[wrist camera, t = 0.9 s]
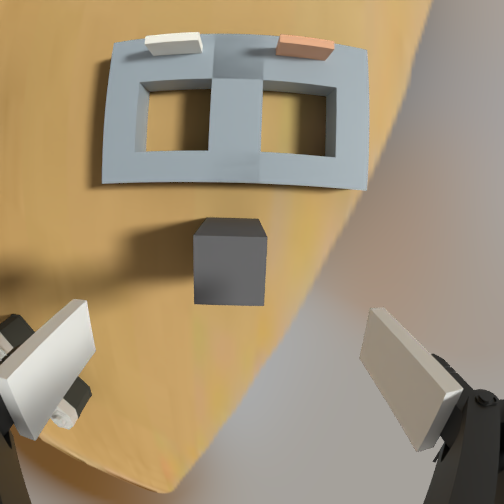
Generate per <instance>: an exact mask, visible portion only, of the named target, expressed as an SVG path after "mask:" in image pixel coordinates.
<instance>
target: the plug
mask: <svg viewBox="0 0 504 504" xmlns="http://www.w3.org/2000/svg"><path fill="white" fill-rule="evenodd" d="M266 256H267V236H266V233H265V231H264V229H263V227H262V225H261V223H260V221H259V219H247V218H206V220H205V221H204V222H203V223H202V225H201V226H200V227H199V229H198V230H197V231H196V233H195V234H194V235H193V260H194V304H206V305H241V306H264V294H265V275H266Z"/></svg>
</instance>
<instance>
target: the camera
mask: <svg viewBox="0 0 504 504" xmlns="http://www.w3.org/2000/svg"><path fill="white" fill-rule="evenodd" d="M34 333H35V332H34V331H33V329H32V328H31V327H30V326H29V325H28V324H27V323H26V321H25V320H24V319H23V318H22V317H21V316H20V315H16V314H12V315H11V316H10V317H9V318H8V319H6V320H5V321H4V322H2V323H1V324H0V361H1V359H2V358H3V357H4V356H5V355H6V356H7V353H8V352H10V351H11V350H12V349H13V348H14V347H16V346H18V345H20V344H22V343H24V342H25V341H26V340H27V339H28V338H30V337H31V336H32V335H33V334H34ZM91 396H92V394H91V390H90V387H89V386H88V385H87V384H86V383H85V382H84V381H83V380H82V379H81V378H79V377H77V378H76V380H75V381H74V382H73V384H72V385H71V387H70V388H69V390H68V391H67V393H66V394H65V396H64V397H63V399H62V400H61V402H60V403H59V405H58V406H57V408H56V409H55V411H54V412H53V414H52V415H51V417H50V418H51V419H52V420H53V422H54V423H55V424H57V425H58V427H63V428H66V429H70V428H71V427H73V426H74V424H75V422H76V420H77V419H78V418H79V417H80V414H81V412H82V410H83V408H84V407H85V405H86V403H87V402H88V400H89V398H90V397H91Z"/></svg>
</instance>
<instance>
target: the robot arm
mask: <svg viewBox="0 0 504 504" xmlns="http://www.w3.org/2000/svg"><path fill="white" fill-rule="evenodd" d="M95 351H96V349H95V344H94V339H93V334H92V329H91V323H90V318H89V312H88V305H87V300H79V299H73V300H72V301H70V302H69V303H68V304H67V305H66V306H65V307H63V308H62V309H61V310H60V311H59V312H58V313H56V314H55V315H54V316H53V317H52V318H51V319H50V320H48V321H47V322H46V323H45V324H44V325H43V326H42V327H41V328H39V329H38V330H37V331H36V332H35V333H34V334H33V335H32V336H31V337H30V338H28V339H27V340H26V341H25V342H24V343H22V344H20V345H18V346H16V347H14V348H13V349H12V350H11V351H10V352H8V353H7V356H6V355H5V356H4V357H3V358H2V359H1V361H0V504H31V501H30V498H29V495H28V492H27V489H26V485H25V482H24V479H23V475H22V472H21V468H20V464H19V460H18V456H17V452H16V447H15V443H14V438H13V435H12V433H11V431H10V428H11V426H12V425H13V424H14V425H15V427H16V428H17V430H18V432H19V434H20V435H22V436H24V437H27V438H29V439H32V440H36V439H37V437H38V436H39V434H40V433H41V431H42V429H43V428H44V426H45V425H46V423H47V422H48V420H49V418H50V417H51V415H52V414H53V412H54V411H55V409H56V408H57V406H58V405H59V403H60V402H61V400H62V399H63V397H64V396H65V394H66V393H67V391H68V390H69V388H70V387H71V385H72V384H73V382H74V381H75V380H76V378H77V377H78V375H79V374H80V372H81V371H82V369H83V368H84V367H85V365H86V364H87V362H88V361H89V360H90V358H91V357H92V355H93V354H94V353H95ZM360 360H361V361H362V363H363V365H364V366H365V368H366V370H367V371H368V373H369V374H370V375H371V377H372V379H373V381H374V382H375V384H376V385H377V387H378V389H379V390H380V392H381V394H382V395H383V397H384V399H385V400H386V402H387V403H388V405H389V407H390V408H391V410H392V412H393V413H394V415H395V416H396V418H397V420H398V421H399V423H400V425H401V426H402V428H403V430H404V431H405V433H406V435H407V437H408V438H409V440H410V442H411V443H412V445H413V447H414V449H415V450H416V452H419V451H423V450H426V449H429V448H432V447H434V445H435V444H436V442H437V440H438V439H439V437H440V436H441V437H442V439H443V440H444V444H443V446H442V447H441V449H440V451H439V452H438V454H437V455H436V457H435V459H434V460H433V462H436V460H437V459H438V461H437V464H436V468H435V471H434V474H433V478H432V480H431V484H430V486H429V490H428V492H427V495H426V498H425V500H424V503H423V504H504V400H499V399H498V398H497V397H496V396H495V395H494V394H493V393H491V392H490V391H487V390H482V389H478V390H473V389H472V388H471V387H470V386H469V385H468V384H467V383H466V382H465V381H464V380H463V378H462V377H461V376H460V375H459V374H458V373H456V372H455V370H454V369H453V368H452V367H451V368H450V365H449V364H448V363H447V362H446V361H445V360H444V359H442V358H440V357H439V356H437V355H435V354H430V353H429V352H428V351H427V350H426V349H425V348H424V347H423V346H422V345H421V344H420V343H419V342H418V341H417V340H416V339H415V338H414V337H413V336H412V335H411V334H410V333H409V332H408V331H407V330H406V329H405V328H404V327H403V326H402V325H401V324H400V323H399V322H398V321H397V320H396V319H395V318H394V317H393V316H392V315H391V314H389V312H388V311H387V310H386V309H385V308H370V309H369V315H368V320H367V325H366V330H365V335H364V339H363V344H362V349H361V353H360Z"/></svg>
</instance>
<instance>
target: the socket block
mask: <svg viewBox="0 0 504 504" xmlns="http://www.w3.org/2000/svg"><path fill="white" fill-rule="evenodd" d="M188 89H211V105H210V124H209V147H208V151H152V152H146V138H147V120H148V106H149V94H150V92H151V91H166V90H188ZM263 90H264V91H279V92H291V93H301V94H310V95H319V96H326V141H325V156H314V155H301V154H287V153H271V152H260V151H261V124H262V97H263ZM368 157H369V79H368V58H367V50H364V49H360V48H355V47H350V46H345V45H340V44H334V41H329V40H323V39H316V38H309V37H302V36H293V35H283V34H280V36H268V35H251V34H199V32H189V33H173V34H162V35H152V36H146V37H145V39H137V40H130V41H123V42H117V43H114V47H113V53H112V59H111V65H110V73H109V80H108V88H107V98H106V108H105V120H104V135H103V156H102V184H107V183H135V182H233V183H263V184H284V185H302V186H317V187H330V188H343V189H354V190H365V191H367V180H368Z"/></svg>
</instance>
